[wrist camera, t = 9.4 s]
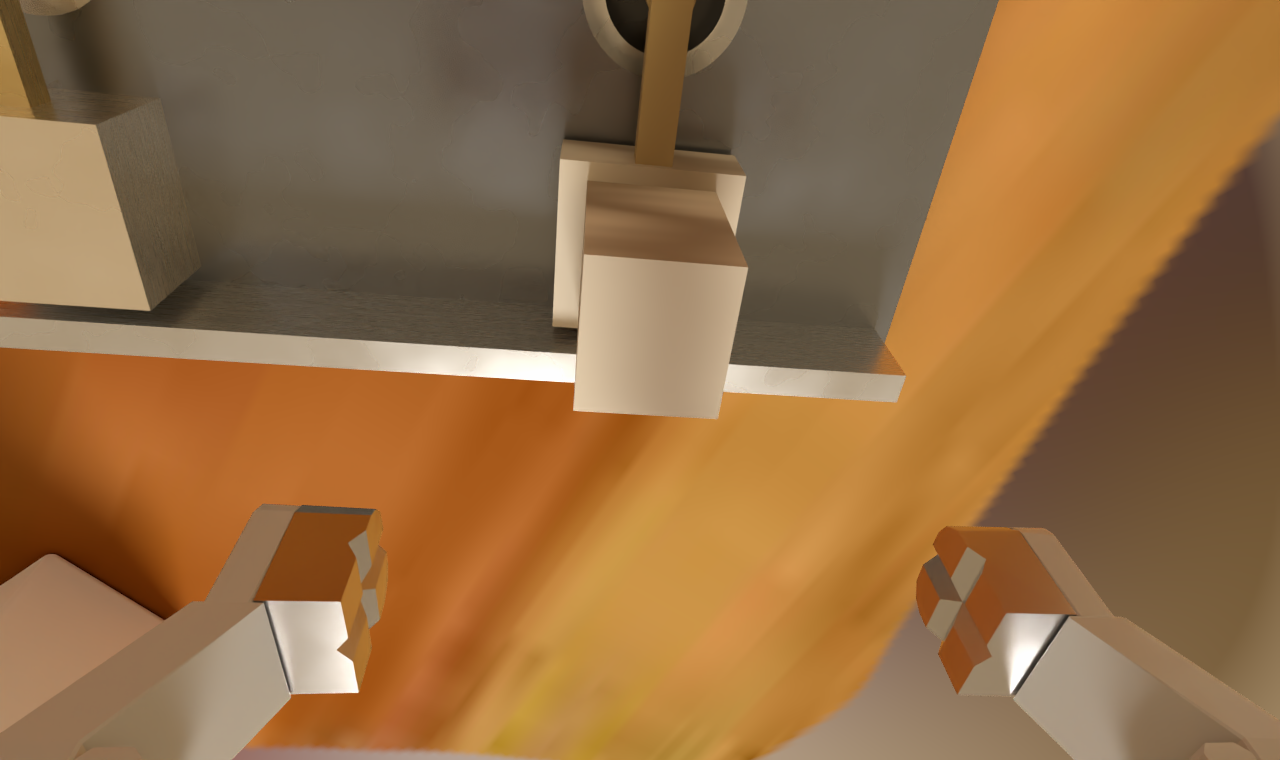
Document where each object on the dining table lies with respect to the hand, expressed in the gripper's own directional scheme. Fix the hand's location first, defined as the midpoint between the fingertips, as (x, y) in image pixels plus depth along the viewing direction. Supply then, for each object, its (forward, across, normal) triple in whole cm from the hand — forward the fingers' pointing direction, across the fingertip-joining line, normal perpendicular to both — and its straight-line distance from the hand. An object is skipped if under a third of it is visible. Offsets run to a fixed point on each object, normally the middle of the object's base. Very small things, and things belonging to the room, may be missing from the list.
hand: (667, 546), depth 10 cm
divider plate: (+15, +4, -2) cm, 16 cm away
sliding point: (+14, 0, -2) cm, 14 cm away
